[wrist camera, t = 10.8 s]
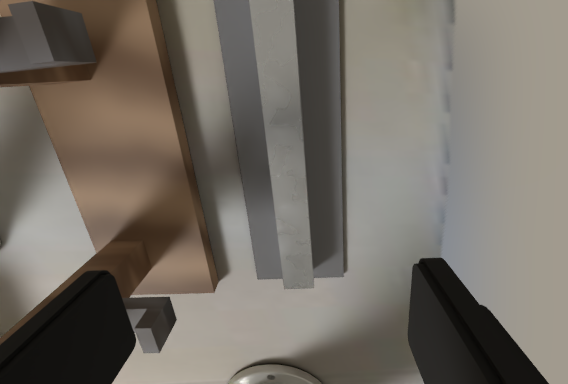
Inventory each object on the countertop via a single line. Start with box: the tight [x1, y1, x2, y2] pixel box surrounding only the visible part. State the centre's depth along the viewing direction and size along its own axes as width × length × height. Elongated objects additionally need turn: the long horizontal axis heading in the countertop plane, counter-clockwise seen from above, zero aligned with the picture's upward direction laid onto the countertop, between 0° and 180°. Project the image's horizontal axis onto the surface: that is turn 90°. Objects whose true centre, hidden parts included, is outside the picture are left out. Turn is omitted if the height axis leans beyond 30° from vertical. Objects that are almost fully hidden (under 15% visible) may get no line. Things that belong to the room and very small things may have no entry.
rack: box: [0, 0, 218, 353], centre depth 17 cm, size 25×10×16 cm, turn 5°
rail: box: [249, 0, 314, 289], centre depth 21 cm, size 22×2×2 cm, turn 6°
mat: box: [214, 0, 344, 279], centre depth 23 cm, size 24×8×1 cm, turn 5°
